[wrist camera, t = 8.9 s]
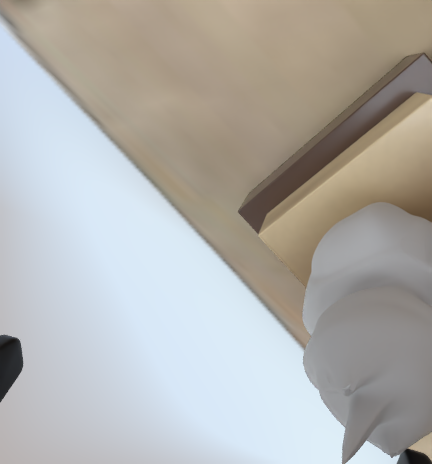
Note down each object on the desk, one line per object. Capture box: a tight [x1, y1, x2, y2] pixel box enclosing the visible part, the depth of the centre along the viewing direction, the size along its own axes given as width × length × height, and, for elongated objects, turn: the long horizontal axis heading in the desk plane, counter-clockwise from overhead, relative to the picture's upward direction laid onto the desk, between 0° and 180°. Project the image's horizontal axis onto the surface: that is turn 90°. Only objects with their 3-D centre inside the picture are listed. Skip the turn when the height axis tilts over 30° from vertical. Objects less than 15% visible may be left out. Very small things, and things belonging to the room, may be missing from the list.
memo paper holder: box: [238, 53, 432, 288], centre depth 16 cm, size 9×9×6 cm
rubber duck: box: [302, 202, 432, 464], centre depth 10 cm, size 5×7×8 cm
